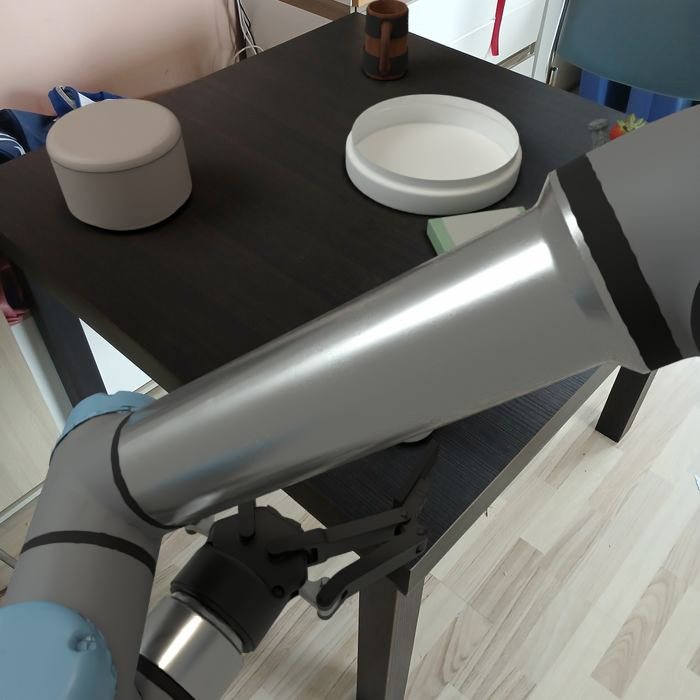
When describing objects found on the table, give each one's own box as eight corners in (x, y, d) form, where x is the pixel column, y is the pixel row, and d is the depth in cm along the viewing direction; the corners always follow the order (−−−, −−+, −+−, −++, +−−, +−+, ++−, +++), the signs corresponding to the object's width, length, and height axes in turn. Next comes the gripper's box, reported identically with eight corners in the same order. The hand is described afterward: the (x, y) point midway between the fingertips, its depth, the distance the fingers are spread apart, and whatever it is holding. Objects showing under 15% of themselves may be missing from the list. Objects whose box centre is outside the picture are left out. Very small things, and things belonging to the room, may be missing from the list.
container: (129, 154, 107) (109, 84, 98) (218, 186, 101) (206, 114, 92) (42, 212, 96) (12, 138, 87) (137, 252, 90) (114, 176, 81)
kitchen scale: (566, 288, 85) (572, 269, 83) (462, 305, 83) (466, 286, 81) (519, 219, 95) (524, 201, 93) (426, 233, 93) (428, 214, 91)
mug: (359, 89, 122) (360, 23, 114) (364, 60, 130) (365, -3, 122) (406, 91, 122) (410, 24, 113) (407, 62, 130) (412, -2, 121)
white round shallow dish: (393, 234, 93) (395, 201, 89) (319, 142, 109) (318, 111, 105) (553, 190, 100) (561, 158, 96) (461, 110, 117) (465, 80, 113)
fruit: (619, 176, 103) (635, 128, 97) (593, 160, 106) (607, 113, 100) (641, 166, 105) (659, 119, 99) (615, 151, 108) (630, 104, 102)
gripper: (93, 557, 53) (255, 384, 65) (359, 746, 44) (489, 505, 56) (64, 510, 47) (247, 331, 60) (362, 715, 39) (505, 455, 51)
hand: (365, 415), depth 58 cm, fingers open, 13 cm apart
